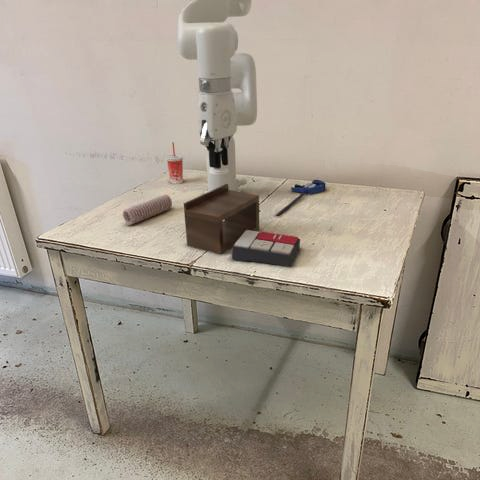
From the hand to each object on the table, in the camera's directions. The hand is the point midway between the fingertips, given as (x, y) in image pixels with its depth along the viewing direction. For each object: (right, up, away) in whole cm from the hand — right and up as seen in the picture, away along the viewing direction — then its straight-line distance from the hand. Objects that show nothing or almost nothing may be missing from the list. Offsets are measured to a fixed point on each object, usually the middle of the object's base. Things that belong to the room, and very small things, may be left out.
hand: (218, 165), depth 123 cm
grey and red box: (+12, -23, +1) cm, 26 cm away
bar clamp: (+24, 0, +36) cm, 43 cm away
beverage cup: (-18, +12, +56) cm, 60 cm away
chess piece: (0, -2, +1) cm, 2 cm away
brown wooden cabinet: (+1, -17, +10) cm, 20 cm away
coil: (-22, -8, +26) cm, 35 cm away
